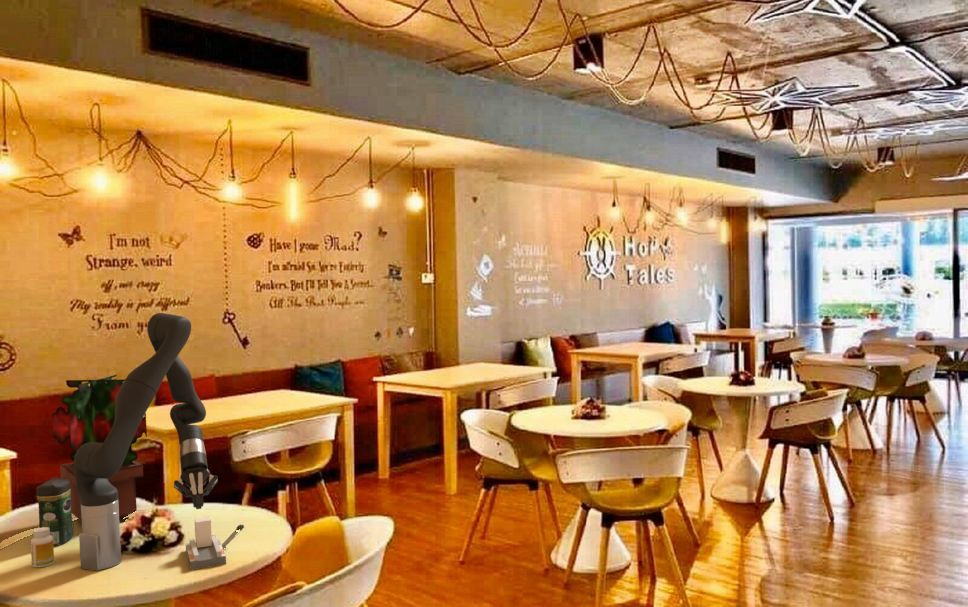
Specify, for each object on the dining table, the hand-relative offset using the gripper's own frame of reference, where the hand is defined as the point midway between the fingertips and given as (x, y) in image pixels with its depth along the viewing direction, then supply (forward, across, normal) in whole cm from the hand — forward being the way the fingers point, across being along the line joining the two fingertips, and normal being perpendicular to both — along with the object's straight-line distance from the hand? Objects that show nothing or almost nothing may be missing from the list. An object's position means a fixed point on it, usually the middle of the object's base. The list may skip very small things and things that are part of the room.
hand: (199, 507), depth 236 cm
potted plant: (-20, -26, +34) cm, 47 cm away
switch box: (+17, 0, -3) cm, 17 cm away
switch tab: (+13, 0, -2) cm, 13 cm away
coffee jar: (-8, -38, +22) cm, 45 cm away
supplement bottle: (+6, -41, +8) cm, 42 cm away
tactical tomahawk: (+9, +9, +6) cm, 14 cm away
